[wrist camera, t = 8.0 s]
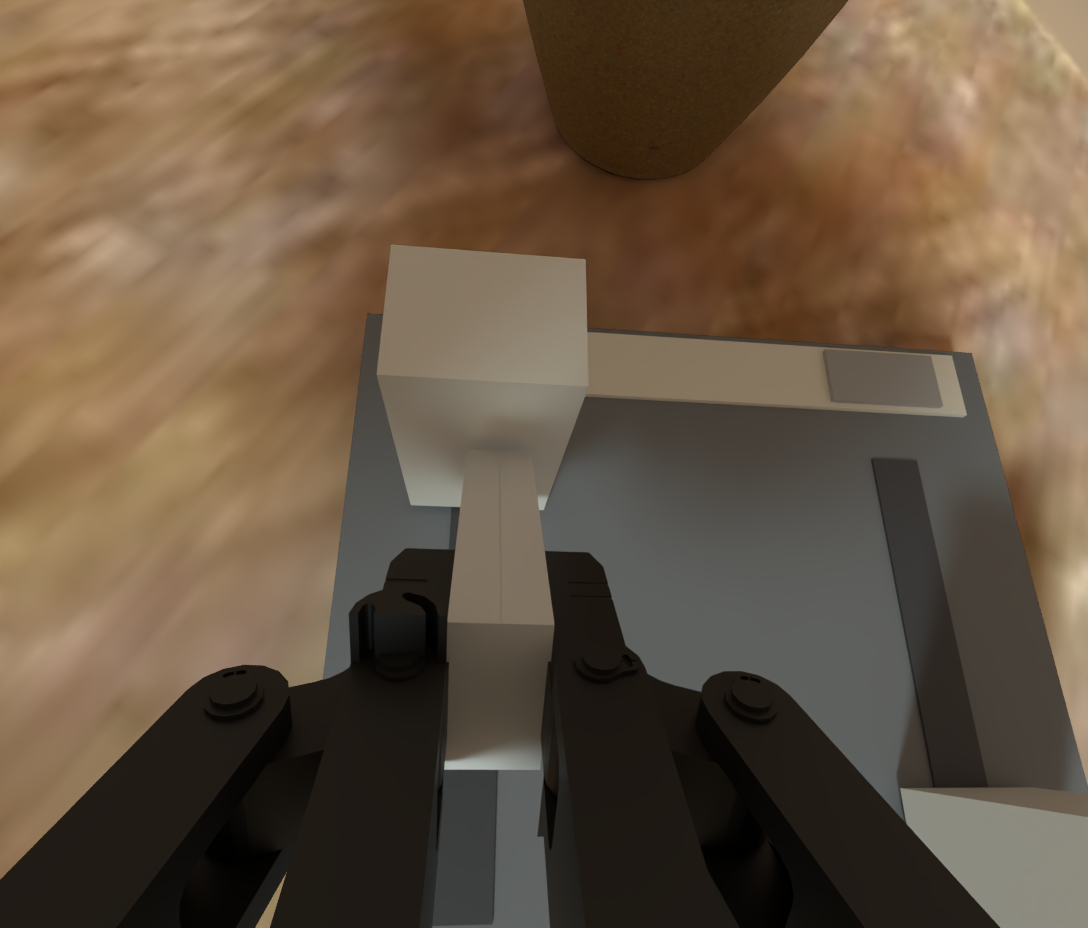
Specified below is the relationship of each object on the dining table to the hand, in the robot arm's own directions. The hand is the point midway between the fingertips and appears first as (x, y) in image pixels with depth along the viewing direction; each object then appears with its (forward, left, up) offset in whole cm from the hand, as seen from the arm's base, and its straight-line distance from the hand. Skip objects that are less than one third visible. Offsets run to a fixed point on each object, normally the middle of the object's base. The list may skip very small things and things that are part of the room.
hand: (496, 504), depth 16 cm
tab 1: (-3, +1, -4) cm, 5 cm away
